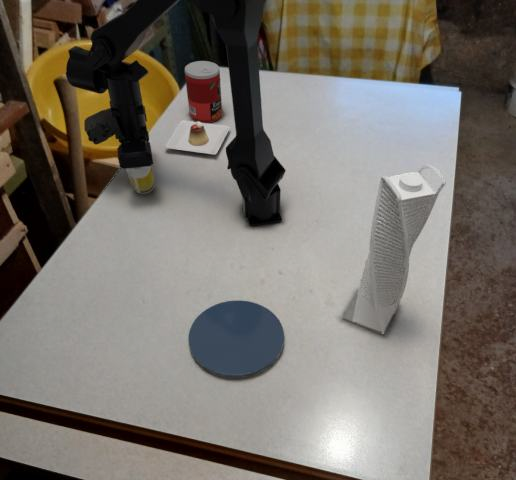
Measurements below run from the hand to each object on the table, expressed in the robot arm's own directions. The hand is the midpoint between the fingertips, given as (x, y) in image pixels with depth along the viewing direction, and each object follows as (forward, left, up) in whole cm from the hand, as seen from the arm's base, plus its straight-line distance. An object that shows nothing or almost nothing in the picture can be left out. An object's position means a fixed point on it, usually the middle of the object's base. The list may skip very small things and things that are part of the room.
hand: (140, 172), depth 105 cm
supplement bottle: (0, +3, -1) cm, 3 cm away
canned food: (-17, -23, -2) cm, 29 cm away
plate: (-11, +47, -2) cm, 48 cm away
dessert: (-14, -12, -2) cm, 18 cm away
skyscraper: (-34, +47, -2) cm, 58 cm away
